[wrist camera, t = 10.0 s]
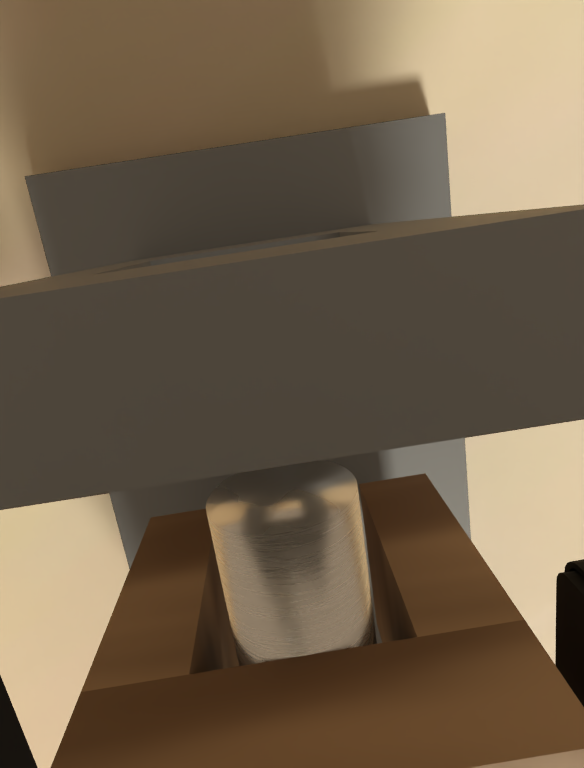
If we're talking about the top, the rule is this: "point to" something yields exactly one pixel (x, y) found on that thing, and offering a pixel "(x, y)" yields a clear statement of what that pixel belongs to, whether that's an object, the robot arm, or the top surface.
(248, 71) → the top surface
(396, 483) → the block
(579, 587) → the robot arm
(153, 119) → the top surface
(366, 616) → the shaft
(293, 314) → the grey bearing stand
